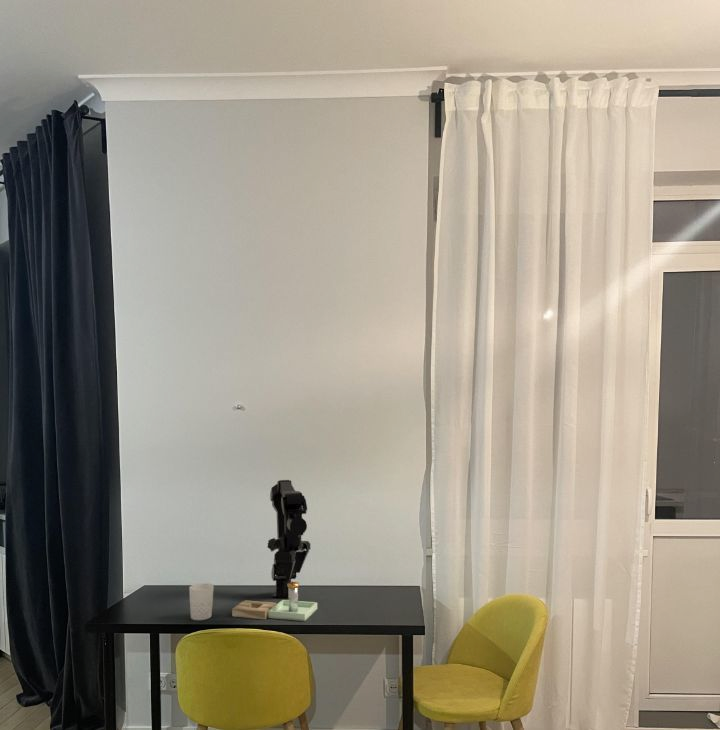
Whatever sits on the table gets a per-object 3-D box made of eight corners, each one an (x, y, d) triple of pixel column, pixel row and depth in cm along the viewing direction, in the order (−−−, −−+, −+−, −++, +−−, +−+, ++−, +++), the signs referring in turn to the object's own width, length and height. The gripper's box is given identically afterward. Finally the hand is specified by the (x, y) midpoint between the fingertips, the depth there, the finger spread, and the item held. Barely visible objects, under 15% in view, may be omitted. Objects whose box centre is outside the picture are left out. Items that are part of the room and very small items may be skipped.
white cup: (189, 622, 192) (189, 591, 193) (188, 614, 199) (189, 584, 200) (213, 619, 194) (214, 588, 195) (212, 612, 202) (213, 582, 202)
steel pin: (290, 609, 202) (290, 581, 202) (300, 610, 201) (300, 582, 201) (285, 613, 198) (285, 584, 199) (296, 614, 197) (296, 585, 197)
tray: (282, 606, 207) (282, 599, 207) (317, 609, 203) (317, 602, 203) (268, 617, 195) (268, 611, 195) (304, 621, 192) (304, 614, 192)
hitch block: (244, 607, 206) (244, 600, 206) (276, 610, 202) (276, 602, 203) (232, 616, 197) (232, 608, 197) (265, 619, 194) (265, 611, 194)
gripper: (282, 523, 212) (282, 567, 211) (259, 534, 195) (259, 582, 193) (310, 525, 210) (311, 569, 208) (291, 535, 192) (291, 584, 190)
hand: (293, 576), depth 200 cm, fingers open, 9 cm apart
